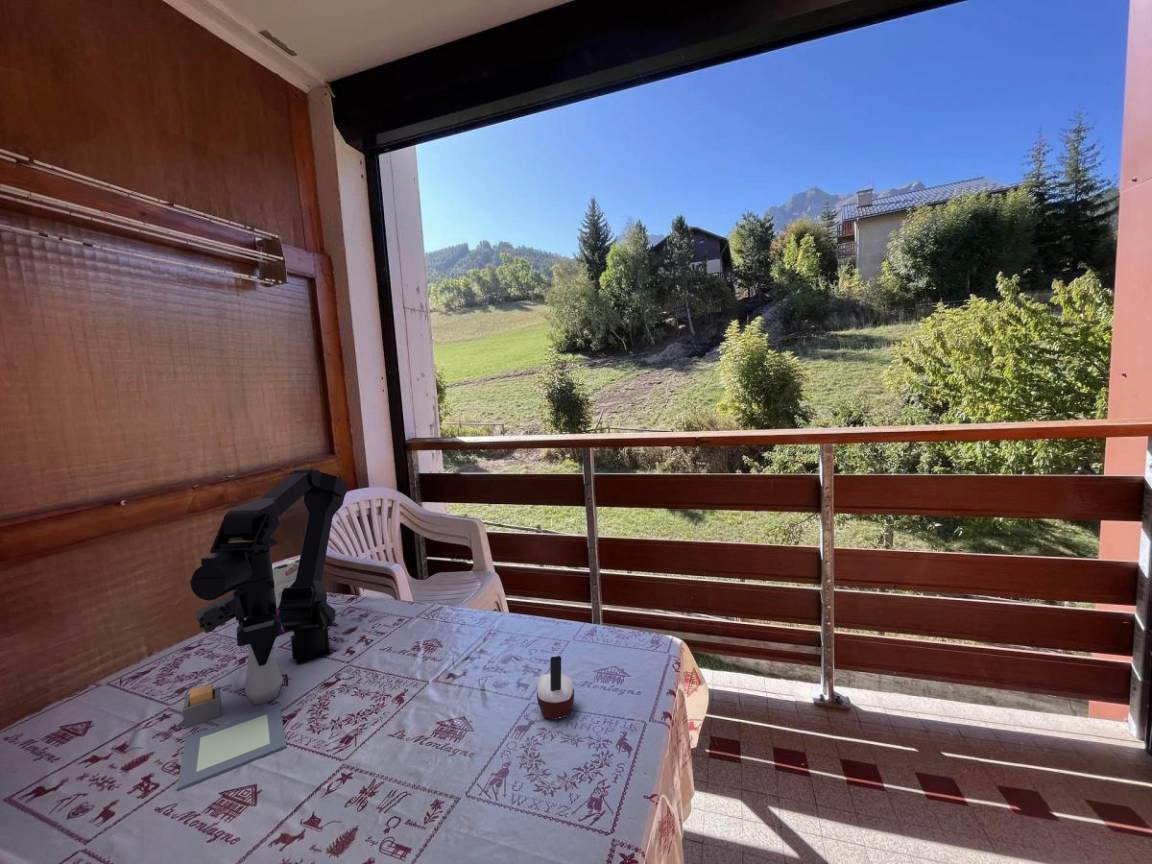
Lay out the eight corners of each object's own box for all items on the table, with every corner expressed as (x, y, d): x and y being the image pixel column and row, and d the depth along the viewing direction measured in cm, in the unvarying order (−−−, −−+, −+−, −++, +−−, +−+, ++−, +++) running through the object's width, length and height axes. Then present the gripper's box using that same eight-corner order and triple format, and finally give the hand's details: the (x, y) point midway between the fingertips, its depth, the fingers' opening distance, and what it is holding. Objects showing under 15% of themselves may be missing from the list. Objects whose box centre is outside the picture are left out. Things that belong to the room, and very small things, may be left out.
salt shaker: (291, 690, 89) (285, 623, 88) (262, 710, 83) (255, 638, 82) (268, 686, 90) (262, 620, 90) (238, 704, 85) (231, 634, 84)
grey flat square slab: (280, 706, 84) (279, 703, 84) (286, 747, 73) (285, 744, 73) (185, 739, 76) (185, 736, 76) (177, 791, 66) (177, 787, 66)
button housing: (221, 703, 86) (219, 686, 86) (220, 716, 82) (218, 698, 82) (187, 714, 83) (185, 696, 83) (184, 728, 79) (182, 710, 79)
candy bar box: (311, 614, 122) (305, 552, 121) (321, 618, 119) (316, 555, 118) (263, 633, 113) (257, 566, 112) (273, 638, 110) (267, 569, 109)
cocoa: (546, 697, 83) (541, 630, 83) (581, 699, 82) (576, 631, 82) (529, 732, 74) (523, 656, 74) (567, 735, 73) (561, 657, 73)
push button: (213, 697, 84) (212, 683, 84) (213, 706, 82) (211, 691, 82) (192, 704, 83) (190, 690, 83) (190, 713, 80) (189, 698, 80)
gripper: (200, 574, 88) (209, 655, 89) (193, 606, 73) (203, 703, 74) (271, 560, 95) (278, 636, 96) (277, 587, 80) (285, 676, 81)
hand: (262, 660), depth 86 cm, fingers closed on salt shaker, 3 cm apart
